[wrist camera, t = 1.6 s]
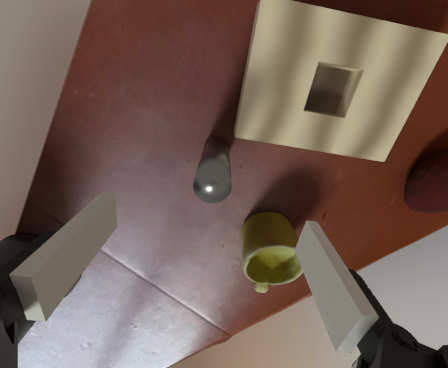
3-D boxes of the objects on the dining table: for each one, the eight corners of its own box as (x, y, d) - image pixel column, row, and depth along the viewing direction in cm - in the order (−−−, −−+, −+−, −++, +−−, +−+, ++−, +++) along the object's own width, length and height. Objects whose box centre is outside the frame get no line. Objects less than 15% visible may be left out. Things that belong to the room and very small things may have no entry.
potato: (468, 158, 31) (520, 175, 26) (411, 208, 35) (446, 232, 29) (436, 133, 30) (485, 145, 24) (380, 189, 33) (411, 210, 28)
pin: (202, 159, 31) (191, 200, 20) (205, 135, 30) (195, 165, 19) (226, 163, 31) (227, 205, 21) (230, 139, 30) (234, 172, 19)
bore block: (233, 131, 29) (234, 137, 26) (256, 5, 23) (262, -6, 20) (367, 153, 31) (384, 161, 28) (422, 41, 25) (450, 35, 22)
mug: (247, 197, 32) (272, 258, 25) (297, 206, 36) (330, 260, 29) (215, 242, 39) (227, 300, 32) (260, 245, 43) (280, 296, 36)
